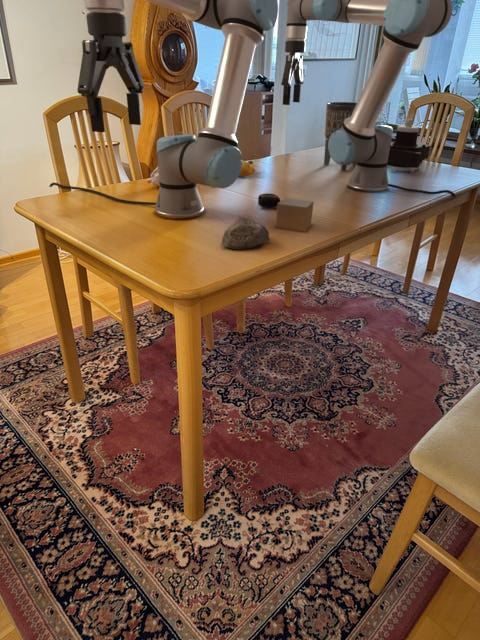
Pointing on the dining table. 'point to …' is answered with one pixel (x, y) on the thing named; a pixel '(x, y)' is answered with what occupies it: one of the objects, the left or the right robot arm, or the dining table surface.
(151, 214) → the dining table surface
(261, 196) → the tape measure
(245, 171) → the toy
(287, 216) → the block
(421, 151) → the mechanical component
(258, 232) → the rock
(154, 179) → the figurine
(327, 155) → the planter
